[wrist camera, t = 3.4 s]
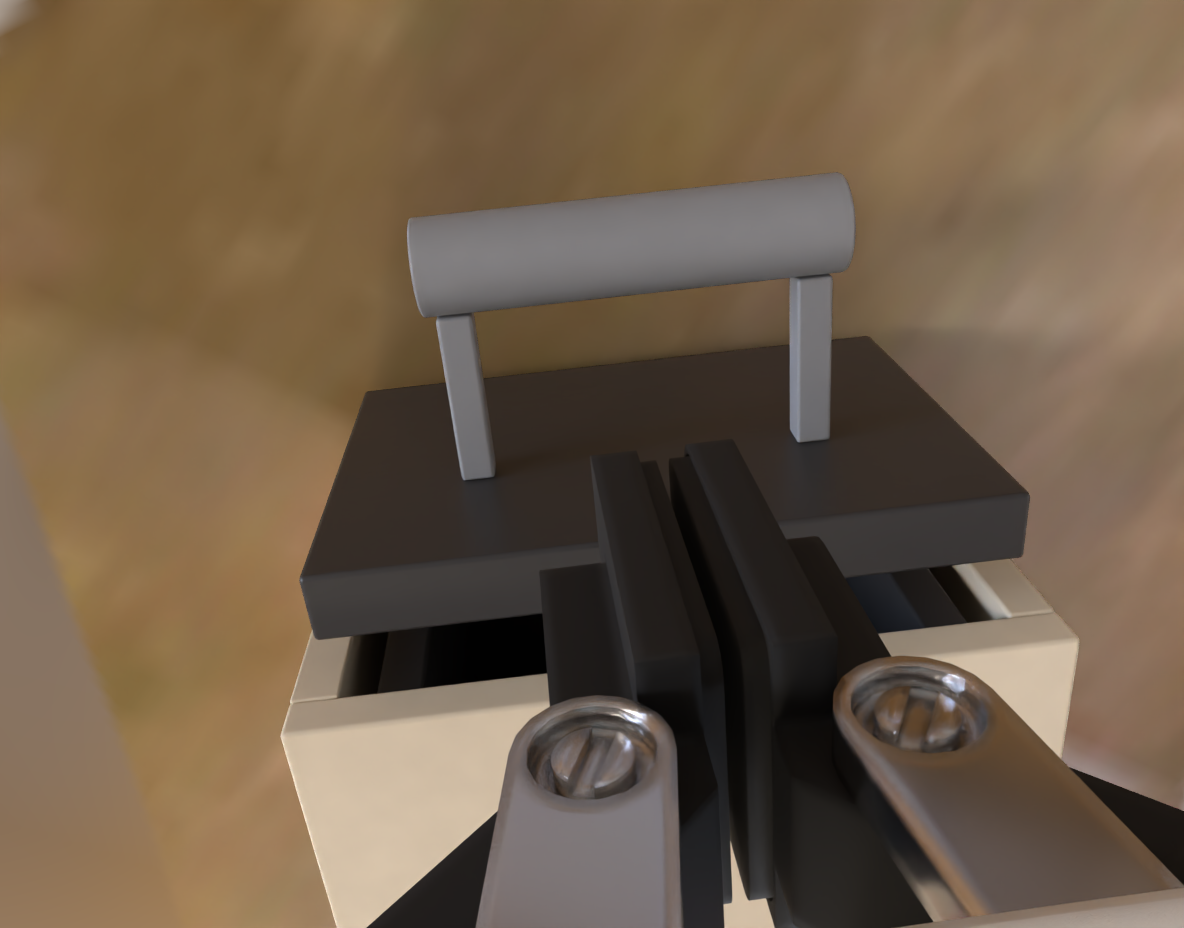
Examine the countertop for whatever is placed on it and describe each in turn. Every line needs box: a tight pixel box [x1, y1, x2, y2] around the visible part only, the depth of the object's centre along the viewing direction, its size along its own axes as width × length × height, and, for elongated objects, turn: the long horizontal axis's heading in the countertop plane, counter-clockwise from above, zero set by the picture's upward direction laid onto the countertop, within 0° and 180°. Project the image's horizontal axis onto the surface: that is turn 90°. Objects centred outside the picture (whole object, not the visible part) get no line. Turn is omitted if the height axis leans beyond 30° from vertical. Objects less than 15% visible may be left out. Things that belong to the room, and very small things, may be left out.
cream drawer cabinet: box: [281, 559, 1080, 928], centre depth 23 cm, size 15×13×10 cm
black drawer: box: [299, 172, 1030, 693], centre depth 21 cm, size 18×11×8 cm, turn 5°
